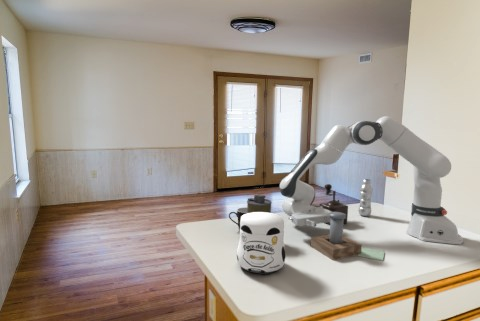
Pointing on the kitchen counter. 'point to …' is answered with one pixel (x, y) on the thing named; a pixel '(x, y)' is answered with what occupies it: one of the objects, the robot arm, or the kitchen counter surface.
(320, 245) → the socket block
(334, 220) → the grey capped peg
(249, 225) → the dulce de leche jar
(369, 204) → the plastic bottle
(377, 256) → the mat
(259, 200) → the canister
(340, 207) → the brown coffee grinder
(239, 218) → the coffee mug
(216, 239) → the kitchen counter surface
